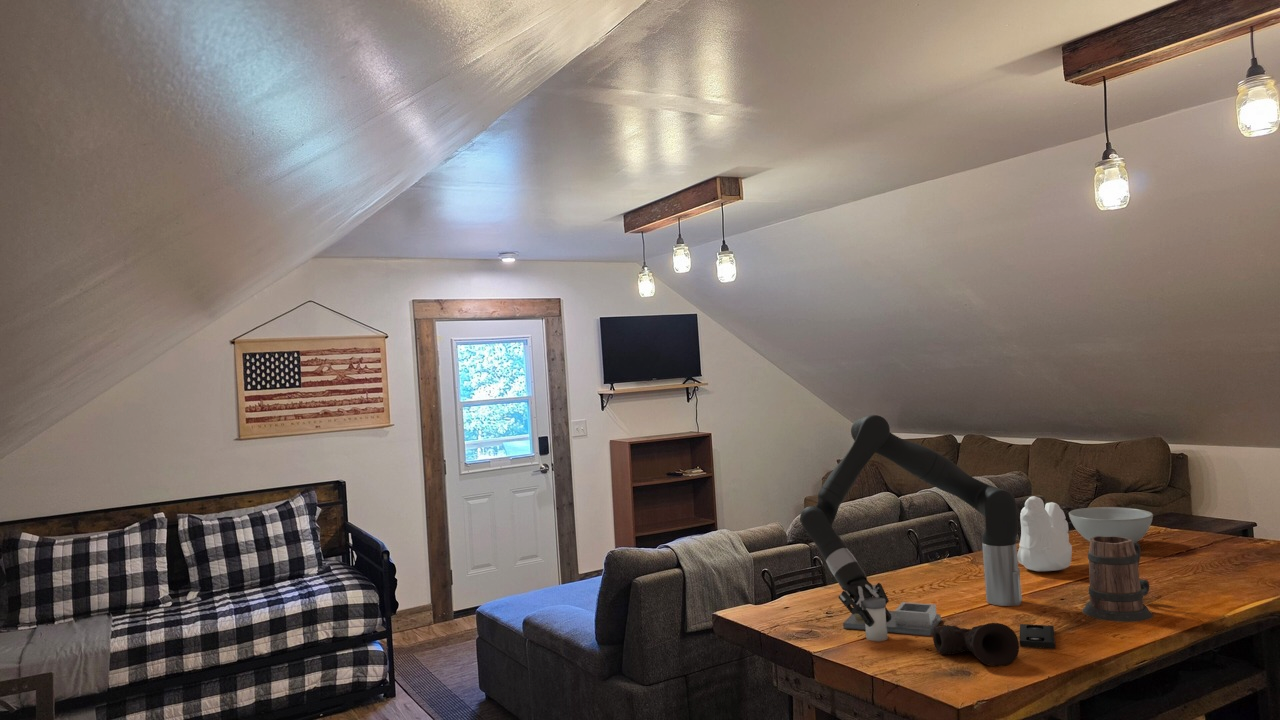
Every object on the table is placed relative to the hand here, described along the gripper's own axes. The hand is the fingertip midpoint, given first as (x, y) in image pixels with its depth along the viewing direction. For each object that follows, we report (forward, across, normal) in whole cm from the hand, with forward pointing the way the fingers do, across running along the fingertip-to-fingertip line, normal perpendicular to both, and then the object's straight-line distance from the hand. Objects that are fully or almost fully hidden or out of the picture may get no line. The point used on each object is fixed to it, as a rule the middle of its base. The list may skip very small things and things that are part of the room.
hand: (880, 622), depth 220 cm
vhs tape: (+21, +29, -13) cm, 38 cm away
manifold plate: (-2, +12, +9) cm, 15 cm away
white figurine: (-9, +94, +16) cm, 95 cm away
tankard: (+20, +67, -13) cm, 71 cm away
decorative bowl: (-14, +137, +21) cm, 139 cm away
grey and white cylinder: (+2, 0, +4) cm, 5 cm away
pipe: (+20, +8, -13) cm, 25 cm away
